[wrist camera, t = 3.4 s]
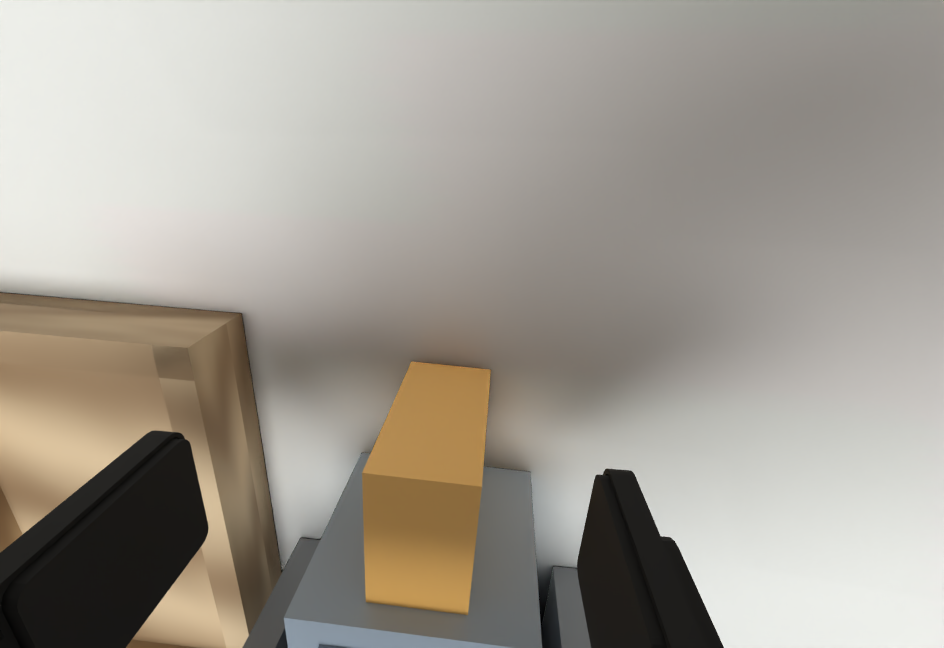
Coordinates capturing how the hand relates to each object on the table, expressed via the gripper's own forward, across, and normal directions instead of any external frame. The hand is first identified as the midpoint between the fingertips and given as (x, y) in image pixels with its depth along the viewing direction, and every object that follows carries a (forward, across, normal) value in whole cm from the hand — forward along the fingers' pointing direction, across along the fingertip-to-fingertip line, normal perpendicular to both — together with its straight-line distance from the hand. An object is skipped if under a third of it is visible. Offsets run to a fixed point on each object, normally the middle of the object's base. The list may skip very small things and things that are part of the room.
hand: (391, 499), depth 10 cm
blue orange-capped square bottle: (+5, -1, +7) cm, 8 cm away
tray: (+5, +11, +6) cm, 14 cm away
